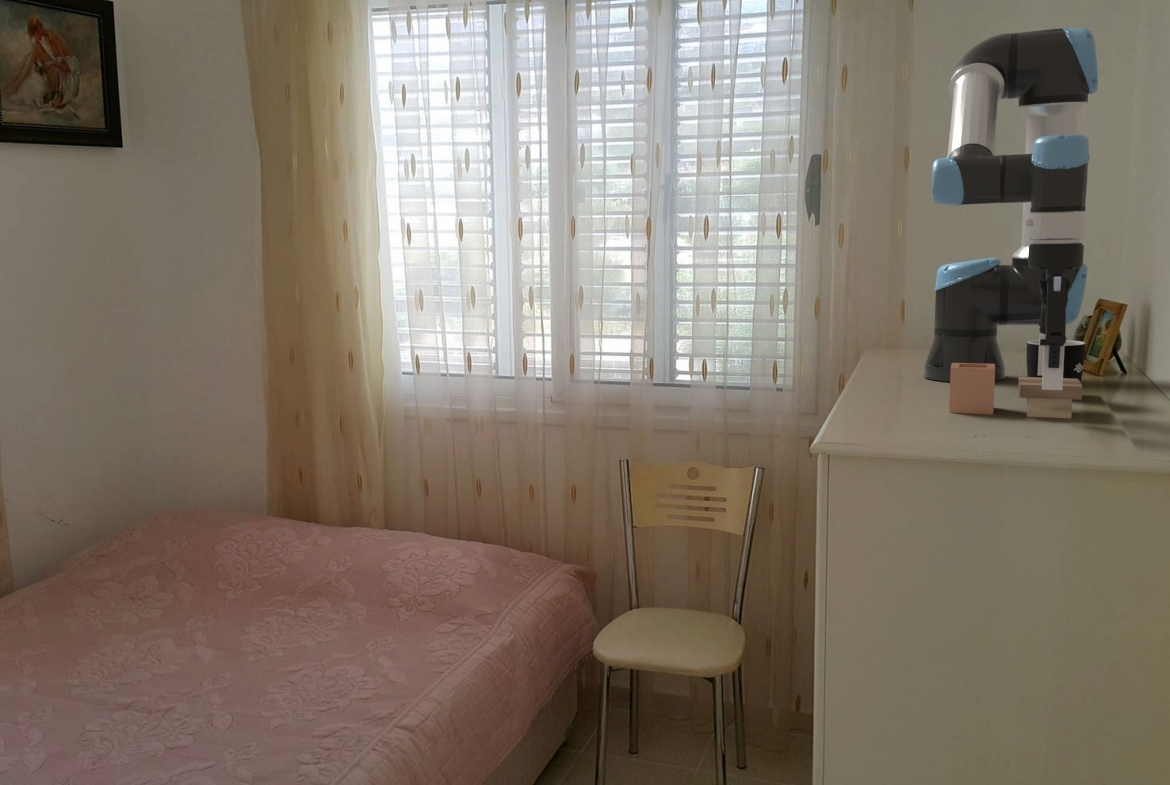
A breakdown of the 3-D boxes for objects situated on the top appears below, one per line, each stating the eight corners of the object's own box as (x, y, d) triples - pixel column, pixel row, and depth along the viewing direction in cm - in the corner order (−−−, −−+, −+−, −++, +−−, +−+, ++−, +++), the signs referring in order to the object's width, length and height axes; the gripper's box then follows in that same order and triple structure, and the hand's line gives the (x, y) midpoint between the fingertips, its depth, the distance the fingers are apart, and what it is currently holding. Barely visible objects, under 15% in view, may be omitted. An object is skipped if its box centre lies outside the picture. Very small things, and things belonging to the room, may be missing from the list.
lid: (1018, 389, 160) (1018, 376, 160) (1077, 391, 157) (1077, 378, 157) (1019, 397, 152) (1020, 384, 152) (1081, 399, 149) (1082, 386, 149)
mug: (1079, 407, 166) (1082, 345, 164) (1020, 404, 170) (1022, 344, 169) (1087, 397, 176) (1090, 338, 174) (1031, 393, 180) (1034, 337, 179)
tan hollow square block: (950, 411, 164) (951, 362, 163) (992, 413, 162) (994, 363, 161) (948, 418, 159) (950, 367, 157) (993, 420, 156) (995, 369, 155)
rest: (1025, 416, 159) (1026, 390, 159) (1068, 417, 157) (1069, 392, 156) (1027, 422, 154) (1028, 396, 153) (1071, 424, 152) (1072, 398, 151)
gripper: (1025, 239, 164) (1020, 369, 168) (1031, 245, 141) (1025, 395, 145) (1077, 238, 161) (1070, 370, 165) (1091, 244, 139) (1083, 397, 142)
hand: (1049, 382), depth 155 cm, fingers open, 13 cm apart
